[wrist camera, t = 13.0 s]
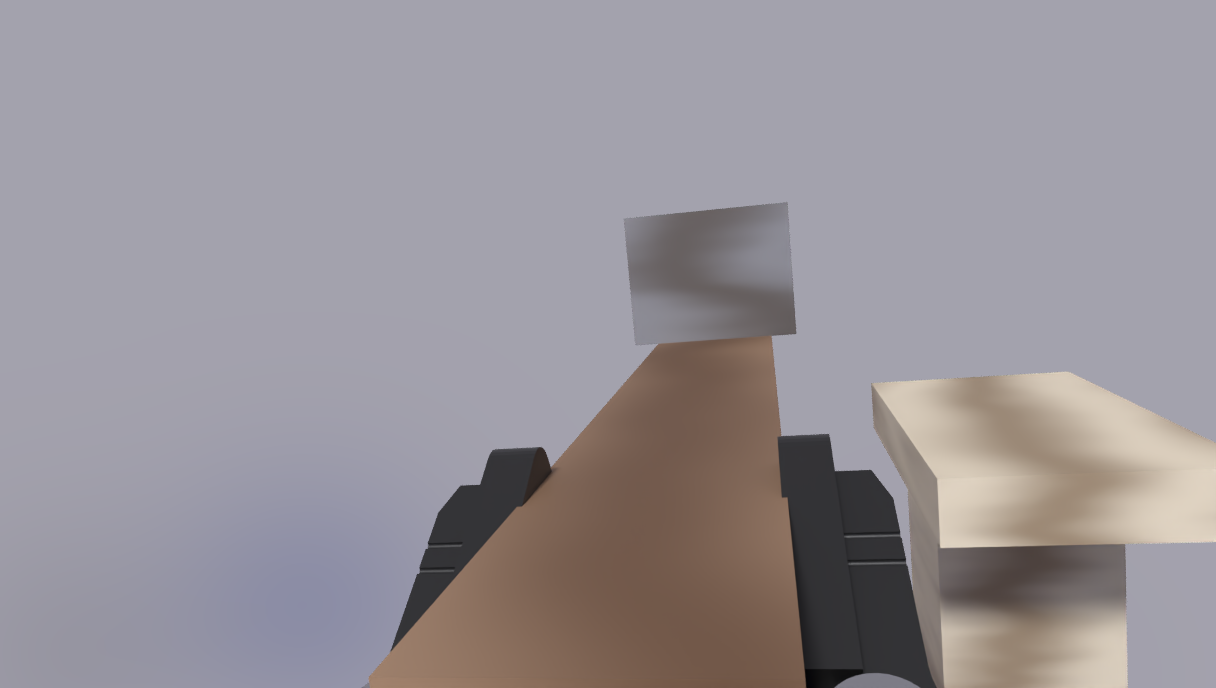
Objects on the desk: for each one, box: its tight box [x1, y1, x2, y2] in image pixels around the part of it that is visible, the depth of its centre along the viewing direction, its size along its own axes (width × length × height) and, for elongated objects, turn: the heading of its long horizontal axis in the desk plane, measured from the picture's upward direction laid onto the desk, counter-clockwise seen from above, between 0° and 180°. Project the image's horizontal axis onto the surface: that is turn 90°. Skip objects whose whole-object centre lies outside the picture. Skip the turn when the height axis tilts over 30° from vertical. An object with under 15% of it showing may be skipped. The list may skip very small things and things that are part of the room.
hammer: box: [369, 202, 806, 688], centre depth 19 cm, size 5×25×8 cm, turn 170°
